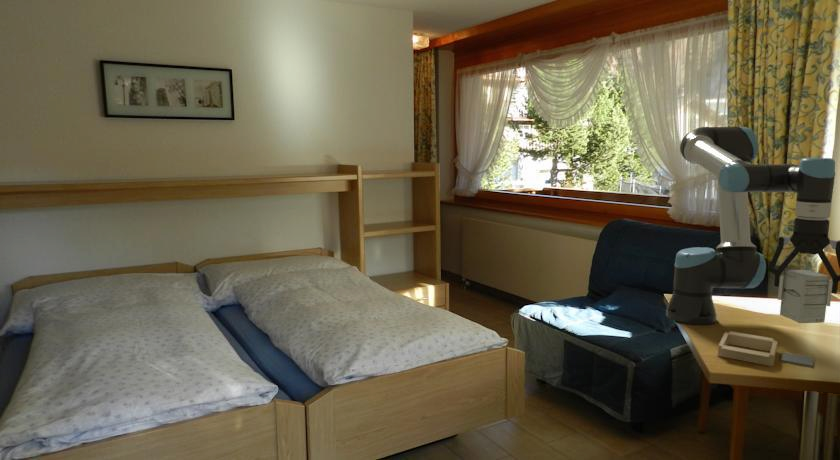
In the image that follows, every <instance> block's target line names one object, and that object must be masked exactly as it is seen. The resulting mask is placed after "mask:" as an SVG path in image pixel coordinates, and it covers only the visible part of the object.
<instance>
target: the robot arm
mask: <svg viewBox="0 0 840 460" xmlns="http://www.w3.org/2000/svg"><path fill="white" fill-rule="evenodd" d="M679 150H680V151H679V152H680V155H681V156H682V157H683V158H684V160H686V161H687V162H689V163H690V164H693V165H699V166H701V167H702V168H704V169H705V170H707V172H709V173H711V174H712V175H714V176H715V177H716V178H717V193H718V195H717V196H718V209H719V212H718V213H719V228H720V229H719V230H720V231H719V232H720V244H718V245H717V246H716V247H715V249H714V248H711V247H706V246H705V247H704V246H703V247H699V246H697V247H695V246H694V247H688V248H684V249H683V248H682V249H681V250H679V251H678V252H676V255H675V260H674V261H675V262H674V274H673V275H674V276H673V290H672V296H671V297H670V299H669V301H668V304H667V307H666V310H665V317H666V318H668V319H670V320H673V321H675V322H679V323H682V324H689V325H701V326H702V325H703V326H704V325H711V324H714V323H716V322H717V312H716V307H715V305H714V300H713V289H739V290H740V289H741V290H743V289H744V290H745V289H754V288H756V287H758V286H760V284H761V283H762V281H763V280H764V278H765V274H766V270H767V271H768V272H770V273H772V274H774V285H773V286H774V287H778V294H777V295H778V296H777V300H778V301H779V300H780V301H781V299H782V288H783V278H784V271H785V270H786V268H788V266H789V264H790V263H791V262H792V261H793V260H794V259H795V258H796V256H798V254H799V253H800V254H804V255H806V254H809V255H818V257H819V259H820V261H821V262H822V263H823V265H824V267H825V269H826V270H827V272H828V274H829V276H830V278H831V279H830V278H829V286H828V295H827V304H826V307H831V301H832V294H837V293H838V290H839V289H838V287H839V282H840V274H837V272H836V271H835V268H834V267H833V265H832V263H831V261H830V260H829V258H828V257H827V255H826V252H825V251H824V249H825V248H827V247H828V246H829V245H830V246H831V248H832V249H833V250H835V256H836V260H837V264H838V268H839V270H840V239H839V240H835V239H834V240H832V239H830V238H829V229H830V220H829V218H830V217H831V211H832V203H833V202H832V200H833V193H834V186H835V185H834V184H835V177H836V172H835V171H836V170H835V169H836V161H835V160H834V158H830V157H825V158H823V157H804V158H801V160H800V162H799V164H794V163H782V164H753V163H752V162H753V161H754V160H755V159H757V156H758V152H759V141H758V137H757V135H756V132H754V131H753V130H752V129H751V128H749V127H745V126H737V125H735V126H701V127H696V128H693V129H692V130H691V131H688V132H687V133H686V134H685V135H684V136H683V137H682V139H681V142H680V145H679ZM749 193H796V197H795V198H796V200H795V209H794V215H795V216H796V217H795V219H794V220H793V229H792V230H793V231H792V235H791V236H783V235H780V236H778V241H777V243H778V245H777V247H776V250H775V252H774V254H773V256H772V258H771V260H770V264H769V266H768V268H767V263H766V262H767V261H766V259H765V257H764V255H763V254H762V253H760V252H758V251H757V246H756V245H755V244H753V243H754V242H752V241H751V225H750V210H749V209H750V205H749ZM789 242H790V243H791V244H792V245H793V247H794V248H793V249H792V251H791V252H790V253H789V254H788V255H787V257H786V258H785V259H784V260H783V261H782V262H781V264H780V265H779V266H778V267H777V268H776V267H775V266H776V264H777V262H778V259H779V258H780V256H781V253H782V251H783V249H784V247H785V246H787V245H788V243H789ZM782 273H783V274H782Z"/></svg>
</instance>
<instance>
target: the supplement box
mask: <svg viewBox="0 0 840 460" xmlns="http://www.w3.org/2000/svg"><path fill="white" fill-rule="evenodd" d="M783 274H784V278H783V288H782V299H781V300H780V309H779V315H780V316H782V317H784V318H787V319H790V320H792V321H794V322H796V323H798V324H818V323H819V324H821V323H825V320H826V311H827V306H826V304H827V295H828V286H829V279H830V278H831V276H830V275H828V274H823V273H821V272H817V271H813V270H810V269H784V270H783Z"/></svg>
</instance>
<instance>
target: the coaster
mask: <svg viewBox="0 0 840 460" xmlns="http://www.w3.org/2000/svg"><path fill="white" fill-rule="evenodd" d="M780 361H781V362H782V363H788V364H793V365H796V366H797V365H798V366H803V367H809V368H813V367H814V357H813V356H807V355H803V354H797V353H791V352H785V351H782V354H781V358H780Z"/></svg>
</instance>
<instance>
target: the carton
mask: <svg viewBox="0 0 840 460" xmlns="http://www.w3.org/2000/svg"><path fill="white" fill-rule="evenodd" d="M730 345H731V346H730ZM737 346H738V347H737ZM742 347H743V348H742ZM777 347H778V341H777V340H775V339H774V338H773V337H768V336H761V335H757V334H750V333H749V334H748V333H743V332H737V331H729V332H726V331H725V332H724V334H723V335H722V338H721V339H720V341H719V344H718V347H717V348H718V349H717V357H723V358H727V359H732V360H733V359H734V360H737V361H738V360H739V361H744V362H748V363H749V362H750V363H754V364H760V365H763V366H764V365H765V366H770V367H774V364H775V361H776V355H777V349H778V348H777ZM747 348H750V349H747ZM754 349H755V350H754ZM759 350H760V351H759ZM764 351H766V352H764Z"/></svg>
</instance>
